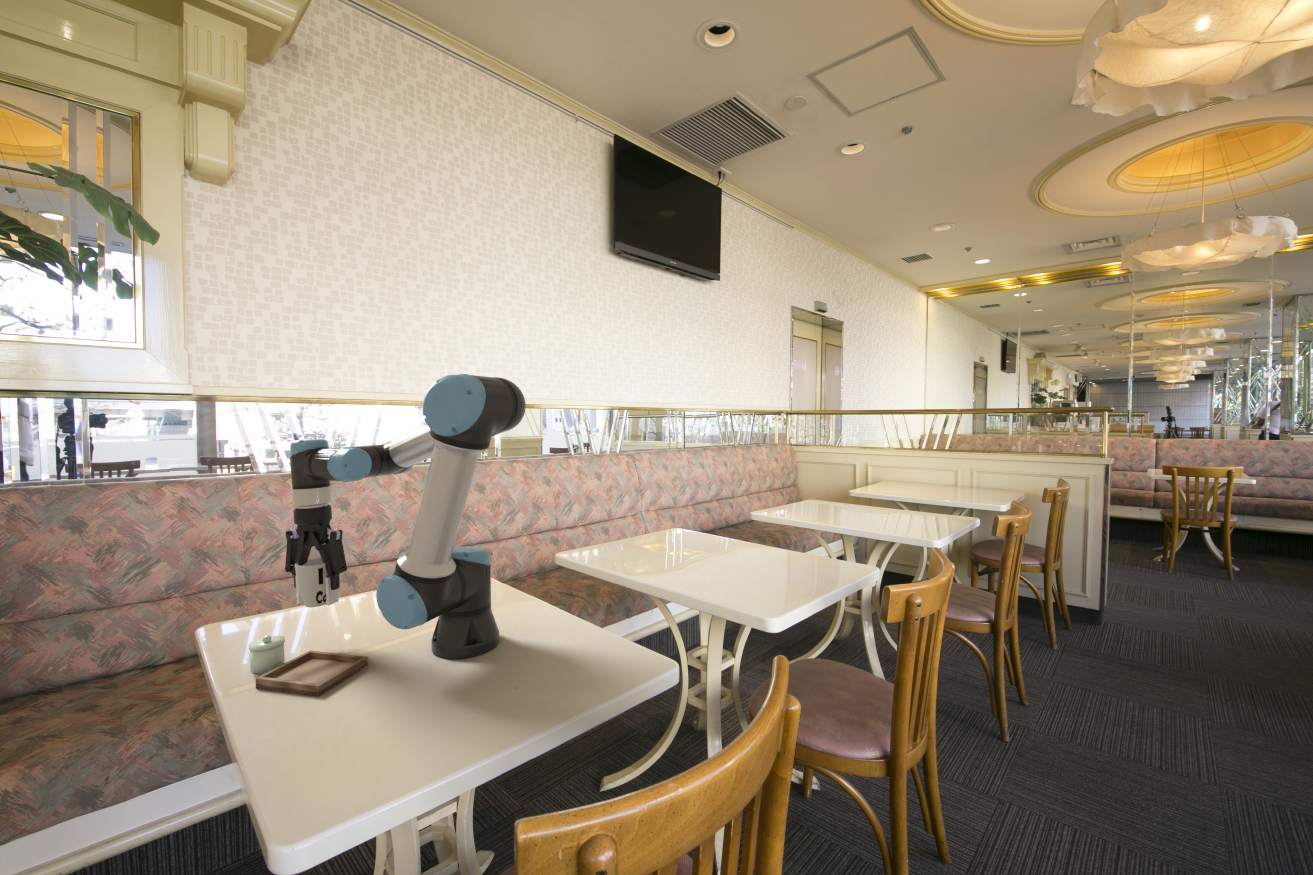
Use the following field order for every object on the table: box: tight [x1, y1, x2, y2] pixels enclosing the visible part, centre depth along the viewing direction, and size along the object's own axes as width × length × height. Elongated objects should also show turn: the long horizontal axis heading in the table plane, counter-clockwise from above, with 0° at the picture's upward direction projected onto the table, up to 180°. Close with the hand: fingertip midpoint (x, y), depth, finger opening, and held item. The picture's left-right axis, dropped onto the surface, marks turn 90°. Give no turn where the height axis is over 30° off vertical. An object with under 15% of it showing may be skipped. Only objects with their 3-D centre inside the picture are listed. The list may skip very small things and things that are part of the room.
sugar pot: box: [248, 634, 286, 675], centre depth 118 cm, size 6×6×7 cm
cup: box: [295, 556, 334, 608], centre depth 127 cm, size 8×8×10 cm
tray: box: [255, 650, 369, 697], centre depth 113 cm, size 15×13×2 cm
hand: (317, 602), depth 128 cm, fingers closed on cup, 8 cm apart
